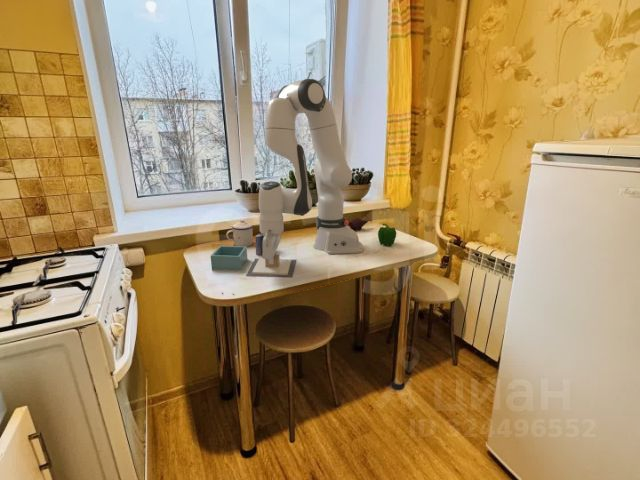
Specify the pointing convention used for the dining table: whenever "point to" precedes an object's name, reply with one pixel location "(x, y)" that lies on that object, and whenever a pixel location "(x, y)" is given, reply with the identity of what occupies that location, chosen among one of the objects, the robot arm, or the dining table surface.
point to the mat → (290, 275)
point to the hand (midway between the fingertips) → (272, 261)
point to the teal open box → (229, 258)
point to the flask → (259, 244)
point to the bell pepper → (386, 235)
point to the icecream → (357, 224)
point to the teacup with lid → (242, 233)
